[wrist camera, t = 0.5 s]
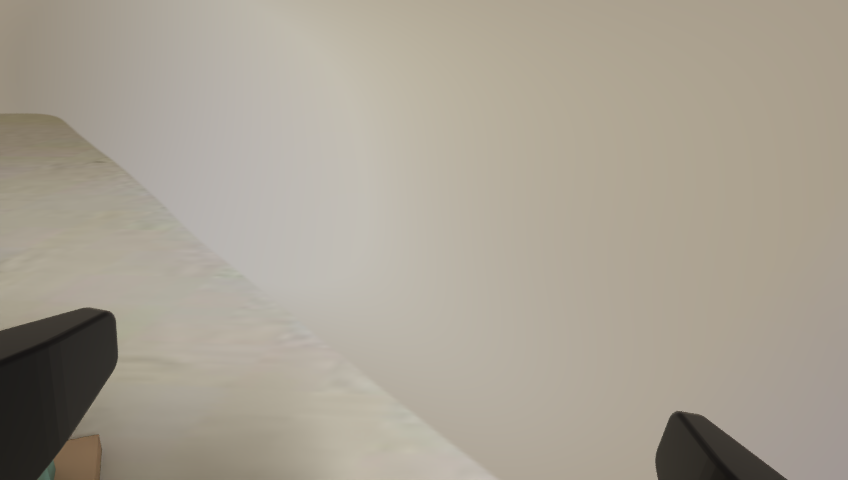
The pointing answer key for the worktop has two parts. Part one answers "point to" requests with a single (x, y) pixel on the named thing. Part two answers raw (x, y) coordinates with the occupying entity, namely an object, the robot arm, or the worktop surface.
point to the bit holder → (76, 461)
